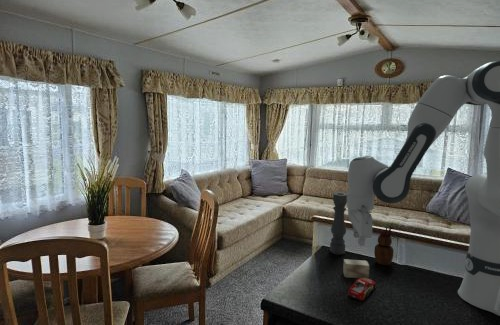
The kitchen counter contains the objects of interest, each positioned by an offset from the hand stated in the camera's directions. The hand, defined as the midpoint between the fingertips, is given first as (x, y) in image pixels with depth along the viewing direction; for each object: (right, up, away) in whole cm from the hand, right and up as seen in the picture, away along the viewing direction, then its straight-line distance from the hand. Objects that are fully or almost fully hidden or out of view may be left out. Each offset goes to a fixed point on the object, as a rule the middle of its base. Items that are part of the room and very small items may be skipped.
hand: (358, 240), depth 108 cm
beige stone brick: (-1, -13, +2) cm, 13 cm away
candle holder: (-1, -10, +22) cm, 25 cm away
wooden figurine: (+14, -12, +12) cm, 22 cm away
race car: (-2, -14, -9) cm, 17 cm away
